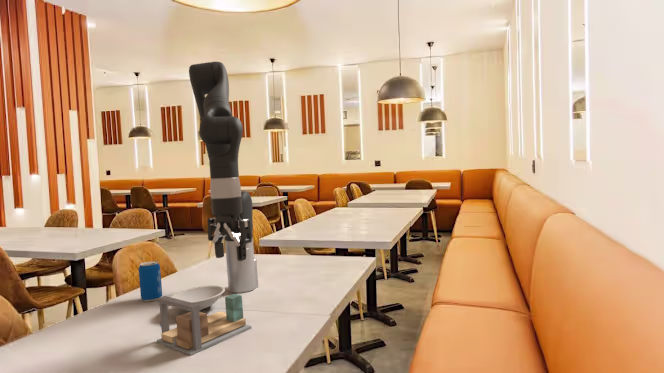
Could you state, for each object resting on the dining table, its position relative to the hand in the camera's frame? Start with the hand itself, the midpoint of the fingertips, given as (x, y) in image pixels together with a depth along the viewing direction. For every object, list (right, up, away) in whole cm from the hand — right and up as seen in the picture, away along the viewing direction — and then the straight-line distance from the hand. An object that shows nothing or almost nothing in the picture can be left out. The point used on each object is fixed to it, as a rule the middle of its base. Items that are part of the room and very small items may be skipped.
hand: (230, 258), depth 111 cm
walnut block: (-7, -17, -9) cm, 20 cm away
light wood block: (-5, -18, +4) cm, 19 cm away
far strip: (-11, -19, -4) cm, 22 cm away
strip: (-3, -19, -5) cm, 19 cm away
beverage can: (-33, -19, +31) cm, 49 cm away
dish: (-13, -18, +17) cm, 28 cm away
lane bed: (-6, -19, -3) cm, 20 cm away
